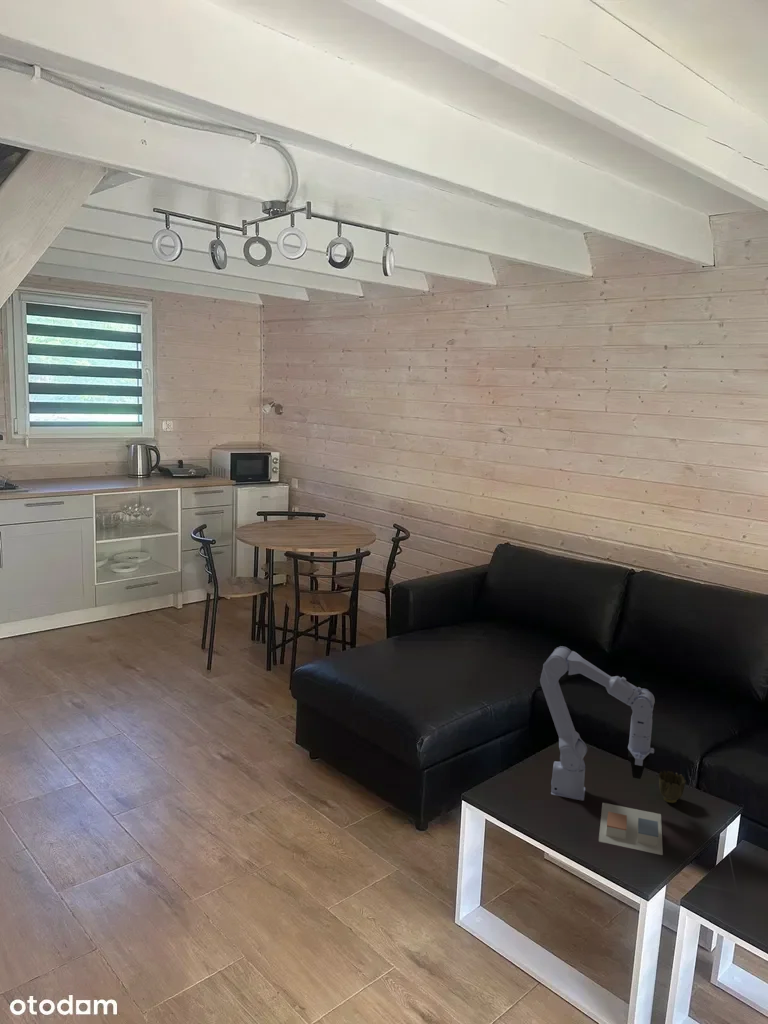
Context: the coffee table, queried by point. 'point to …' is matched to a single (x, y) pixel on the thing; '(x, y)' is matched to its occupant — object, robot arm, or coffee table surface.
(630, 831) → the mat
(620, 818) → the slab
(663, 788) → the cup
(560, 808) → the coffee table surface
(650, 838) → the slab
